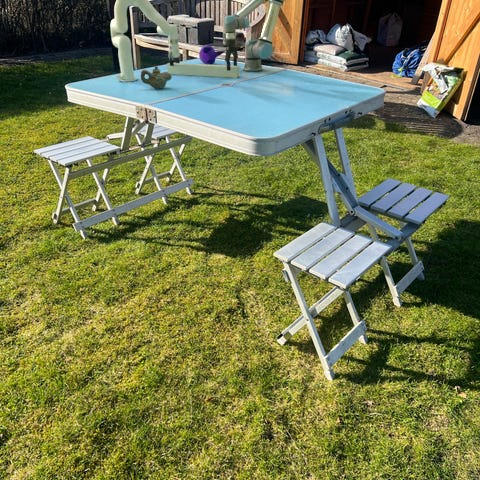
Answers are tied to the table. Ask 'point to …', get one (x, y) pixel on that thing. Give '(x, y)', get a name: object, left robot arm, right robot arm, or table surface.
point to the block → (203, 70)
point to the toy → (209, 55)
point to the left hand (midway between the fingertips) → (174, 64)
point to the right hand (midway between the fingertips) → (232, 68)
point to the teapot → (155, 78)
